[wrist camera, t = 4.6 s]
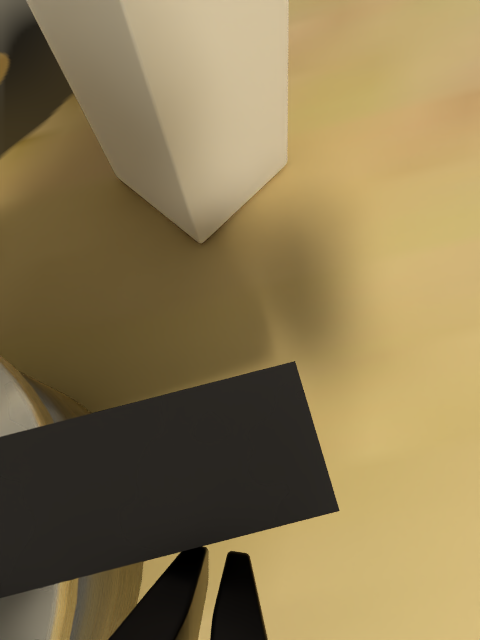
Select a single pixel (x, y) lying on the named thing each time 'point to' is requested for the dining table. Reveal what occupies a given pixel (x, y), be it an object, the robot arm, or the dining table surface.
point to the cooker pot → (105, 587)
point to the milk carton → (180, 96)
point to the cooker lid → (144, 484)
